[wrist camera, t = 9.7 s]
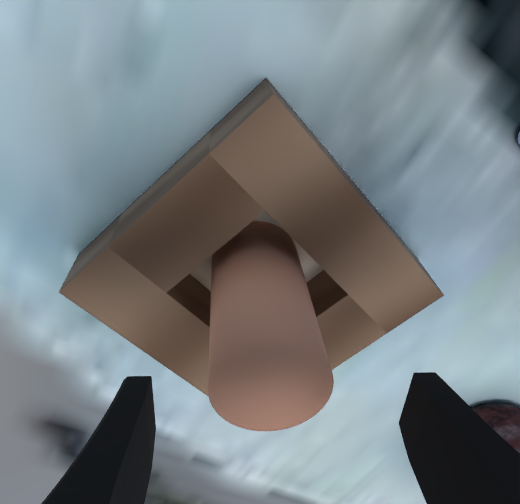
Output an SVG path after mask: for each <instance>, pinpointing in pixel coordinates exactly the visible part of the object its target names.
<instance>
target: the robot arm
mask: <svg viewBox="0 0 520 504" xmlns="http://www.w3.org/2000/svg"><path fill="white" fill-rule="evenodd" d="M518 142H519V144H520V132H519V134H518ZM399 425H400V429H401V433H402V437H403V441H404V444H405V448H406V451H407V455H408V458H409V461H410V464H411V466H412V469H413V471H414V474H415V476H416V478H417V481H418V483H419V486H420V488H421V491H422V493H423V496H424V498H425V500H426V503H427V504H520V453H519V452H518V451H517V450H515V449H514V448H513V447H512V446H511V445H510V444H509V443H508V442H506V441H505V440H504V439H503V438H502V437H501V436H500V435H499V434H498V433H497V432H496V431H495V430H493V429H492V428H491V427H490V426H489V425H488V424H487V423H486V422H485V421H484V420H483V419H482V418H481V417H480V416H479V415H478V414H477V413H476V412H475V411H474V410H473V409H472V408H471V407H470V406H469V405H468V404H467V403H466V402H465V401H464V400H463V399H462V398H461V397H460V396H459V395H458V394H457V393H456V392H455V391H453V390H452V389H451V388H450V387H449V386H448V385H447V384H446V383H445V382H444V381H443V380H442V379H441V378H440V377H439V376H438V375H437V374H436V373H414V374H413V378H412V381H411V384H410V388H409V391H408V394H407V398H406V401H405V404H404V408H403V411H402V414H401V417H400V421H399ZM155 431H156V425H155V414H154V402H153V390H152V379H151V376H130V377H127V378H125V379H124V381H123V383H122V385H121V387H120V389H119V391H118V392H117V394H116V396H115V398H114V400H113V402H112V403H111V405H110V407H109V409H108V410H107V412H106V414H105V415H104V417H103V419H102V420H101V422H100V423H99V425H98V426H97V428H96V430H95V431H94V433H93V434H92V436H91V437H90V439H89V440H88V442H87V443H86V445H85V446H84V448H83V449H82V451H81V452H80V454H79V455H78V456H77V458H76V459H75V460H74V462H73V463H72V465H71V466H70V467H69V469H68V470H67V472H66V473H65V474H64V476H63V477H62V478H61V480H60V481H59V482H58V484H57V485H56V486H55V488H54V489H53V490H52V491H51V493H50V494H49V495H48V496H47V498H46V499H45V500H44V501H43V502H42V504H144V502H145V497H146V493H147V488H148V483H149V478H150V473H151V468H152V460H153V451H154V441H155Z"/></svg>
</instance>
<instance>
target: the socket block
mask: <svg viewBox="0 0 520 504" xmlns="http://www.w3.org/2000/svg"><path fill="white" fill-rule="evenodd" d="M252 221H264V222H268V223H272V224H275V225H277V226H279V227H280V228H282V229H283V230H285V231H286V232H287V233H288V234H289V235H290V237H291V238H292V239H293V241H294V243H295V245H296V249H297V252H298V256H299V259H300V263H301V266H302V270H303V273H304V277H305V280H306V283H307V287H308V290H309V294H310V297H311V301H312V304H313V308H314V311H315V315H316V318H317V322H318V325H319V329H320V332H321V336H322V339H323V343H324V346H325V350H326V353H327V356H328V360H329V363H330V367H331V370H332V369H334V368H335V367H337V366H338V365H340V364H341V363H343V362H344V361H346V360H347V359H349V358H350V357H352V356H353V355H355V354H356V353H358V352H359V351H361V350H362V349H364V348H365V347H367V346H368V345H370V344H371V343H373V342H374V341H376V340H377V339H379V338H380V337H382V336H383V335H385V334H386V333H388V332H389V331H391V330H392V329H394V328H396V327H397V326H399V325H400V324H402V323H403V322H405V321H406V320H408V319H409V318H411V317H412V316H414V315H415V314H417V313H418V312H420V311H421V310H423V309H424V308H426V307H427V306H429V305H430V304H432V303H433V302H435V301H436V300H438V299H439V298H441V297H442V296H444V295H443V293H442V292H441V291H440V289H439V288H438V287H437V285H436V284H435V282H434V281H433V280H432V278H431V277H430V275H429V274H428V273H427V271H426V270H425V268H424V267H423V266H422V264H421V263H420V261H419V260H418V259H417V258H416V256H415V255H414V254H413V253H412V252H411V250H410V249H409V248H408V247H407V246H406V244H405V243H404V242H403V241H402V240H401V238H400V237H399V236H398V235H397V234H396V232H395V231H394V230H393V229H392V228H391V227H390V225H389V224H388V223H387V222H386V221H385V219H384V218H383V217H382V216H381V215H380V213H379V212H378V211H377V210H376V209H375V207H374V206H373V205H372V204H371V203H370V201H369V200H368V199H367V198H366V197H365V195H364V194H363V193H362V192H361V191H360V189H359V188H358V187H357V186H356V185H355V183H354V182H353V181H352V180H351V179H350V177H349V176H348V175H347V174H346V173H345V172H344V170H343V169H342V168H341V167H340V166H339V164H338V163H337V162H336V161H335V160H334V158H333V157H332V156H331V155H330V154H329V152H328V151H327V150H326V149H325V148H324V146H323V145H322V144H321V143H320V142H319V140H318V139H317V138H316V137H315V136H314V134H313V133H312V132H311V131H310V130H309V128H308V127H307V126H306V125H305V124H304V122H303V121H302V120H301V119H300V118H299V117H298V115H297V114H296V113H295V112H294V111H293V109H292V108H291V107H290V106H289V105H288V103H287V102H286V101H285V100H284V99H283V97H282V96H281V95H280V94H279V93H278V91H277V90H276V89H275V88H274V87H273V85H272V84H271V83H270V82H269V81H268V79H267V78H266V79H264V80H263V81H262V82H261V83H260V84H259V85H258V86H257V87H256V88H255V89H254V90H253V91H252V92H251V93H250V94H249V95H247V96H246V97H245V98H244V99H243V100H242V101H241V102H240V103H239V104H238V105H237V106H236V107H235V108H234V109H233V110H231V111H230V112H229V113H228V114H227V115H226V116H225V117H224V118H223V119H222V120H221V121H220V122H219V123H218V124H217V125H216V126H214V127H213V128H212V129H211V130H210V131H209V132H208V133H207V134H206V135H205V136H204V137H203V138H202V139H201V140H200V141H199V142H197V143H196V144H195V145H194V146H193V147H192V148H191V149H190V150H189V151H188V152H187V153H186V154H185V155H184V156H183V157H182V158H180V159H179V160H178V161H177V162H176V163H175V164H174V165H173V166H172V167H171V168H170V169H169V170H168V171H167V172H166V173H165V174H163V175H162V176H161V177H160V178H159V179H158V180H157V181H156V182H155V183H154V184H153V185H152V186H151V187H150V188H149V189H148V190H146V191H145V192H144V193H143V194H142V195H141V196H140V197H139V198H138V199H137V200H136V201H135V202H134V203H133V204H132V205H131V206H129V207H128V208H127V209H126V210H125V211H124V212H123V213H122V214H121V215H120V216H119V217H118V218H117V219H116V220H115V221H114V222H112V223H111V224H110V225H109V226H108V227H107V228H106V229H105V230H104V231H103V232H102V233H101V234H100V235H99V236H98V237H96V238H95V239H94V240H93V241H92V242H91V243H90V244H89V245H88V246H87V247H86V248H85V249H84V250H83V251H82V252H81V253H79V255H78V256H77V258H76V260H75V262H74V264H73V266H72V268H71V270H70V272H69V274H68V276H67V277H66V279H65V281H64V283H63V285H62V287H61V289H60V291H59V293H61V294H62V295H64V296H65V297H66V298H68V299H69V300H71V301H72V302H74V303H75V304H77V305H78V306H79V307H81V308H82V309H84V310H85V311H87V312H88V313H89V314H91V315H92V316H94V317H95V318H97V319H98V320H99V321H101V322H102V323H104V324H105V325H107V326H108V327H110V328H111V329H112V330H114V331H115V332H117V333H118V334H120V335H121V336H122V337H124V338H125V339H127V340H128V341H130V342H131V343H132V344H134V345H135V346H137V347H138V348H140V349H141V350H143V351H144V352H145V353H147V354H148V355H150V356H151V357H153V358H154V359H155V360H157V361H158V362H160V363H161V364H163V365H164V366H165V367H167V368H168V369H170V370H171V371H173V372H174V373H176V374H177V375H178V376H180V377H181V378H183V379H184V380H186V381H187V382H188V383H190V384H191V385H193V386H194V387H196V388H197V389H199V390H200V391H201V392H203V393H204V394H206V395H207V396H208V371H209V338H210V306H211V273H212V255H213V254H214V253H215V252H216V251H217V250H219V249H220V248H221V247H222V246H223V245H225V244H226V243H227V242H228V241H229V240H231V239H232V238H233V237H234V236H235V235H237V234H238V233H239V232H240V231H241V230H243V229H244V228H245V227H246V226H247V225H249V224H250V223H251V222H252Z"/></svg>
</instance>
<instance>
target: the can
mask: <svg viewBox="0 0 520 504" xmlns="http://www.w3.org/2000/svg"><path fill="white" fill-rule="evenodd" d="M472 409H473V410H474V411H475V412H476V413H477V414H478V415H479V416H480V417H481V418H482V419H483V420H484V421H485V422H486V423H487V424H488V425H489V426H490V427H491V428H492V429H493V430H495V431H496V432H497V433H498V434H499V435H500V436H501V437H502V438H503V439H504V440H505V441H506V442H508V443H509V444H510V445H511V446H512V447H513V448H514V449H515V450H517V451H518V452H519V453H520V409H519V408H517V407H515V406H512V405H509V404H507V403H488V404H482V405H478V406H476V407H473V408H472Z"/></svg>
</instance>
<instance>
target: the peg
mask: <svg viewBox="0 0 520 504" xmlns="http://www.w3.org/2000/svg"><path fill="white" fill-rule="evenodd" d="M333 383H334V382H333V374H332V370H331V367H330V363H329V360H328V356H327V353H326V350H325V346H324V343H323V339H322V336H321V332H320V329H319V325H318V322H317V318H316V315H315V311H314V308H313V304H312V301H311V297H310V294H309V290H308V287H307V283H306V280H305V277H304V273H303V270H302V266H301V263H300V259H299V256H298V252H297V249H296V245H295V243H294V241H293V239H292V238H291V237H290V235H289V234H288V233H287V232H286V231H285V230H283V229H282V228H280V227H279V226H277V225H275V224H272V223H268V222H264V221H252V222H251V223H250V224H249V225H247V226H246V227H245V228H244V229H243V230H241V231H240V232H239V233H238V234H237V235H235V236H234V237H233V238H232V239H231V240H229V241H228V242H227V243H226V244H225V245H223V246H222V247H221V248H220V249H219V250H217V251H216V252H215V253H214V254H213V255H212V273H211V306H210V338H209V371H208V396H209V400H210V402H211V404H212V407H213V408H214V409H215V411H216V412H217V413H218V414H219V415H220V416H221V417H222V418H223V419H225V420H226V421H228V422H229V423H231V424H233V425H236V426H238V427H241V428H244V429H249V430H255V431H276V430H282V429H287V428H290V427H293V426H296V425H299V424H301V423H303V422H305V421H307V420H308V419H310V418H312V417H313V416H314V415H316V414H317V413H318V412H319V411H320V410H321V409H322V408H323V407H324V406H325V404H326V403H327V401H328V400H329V398H330V396H331V393H332V390H333Z"/></svg>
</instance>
